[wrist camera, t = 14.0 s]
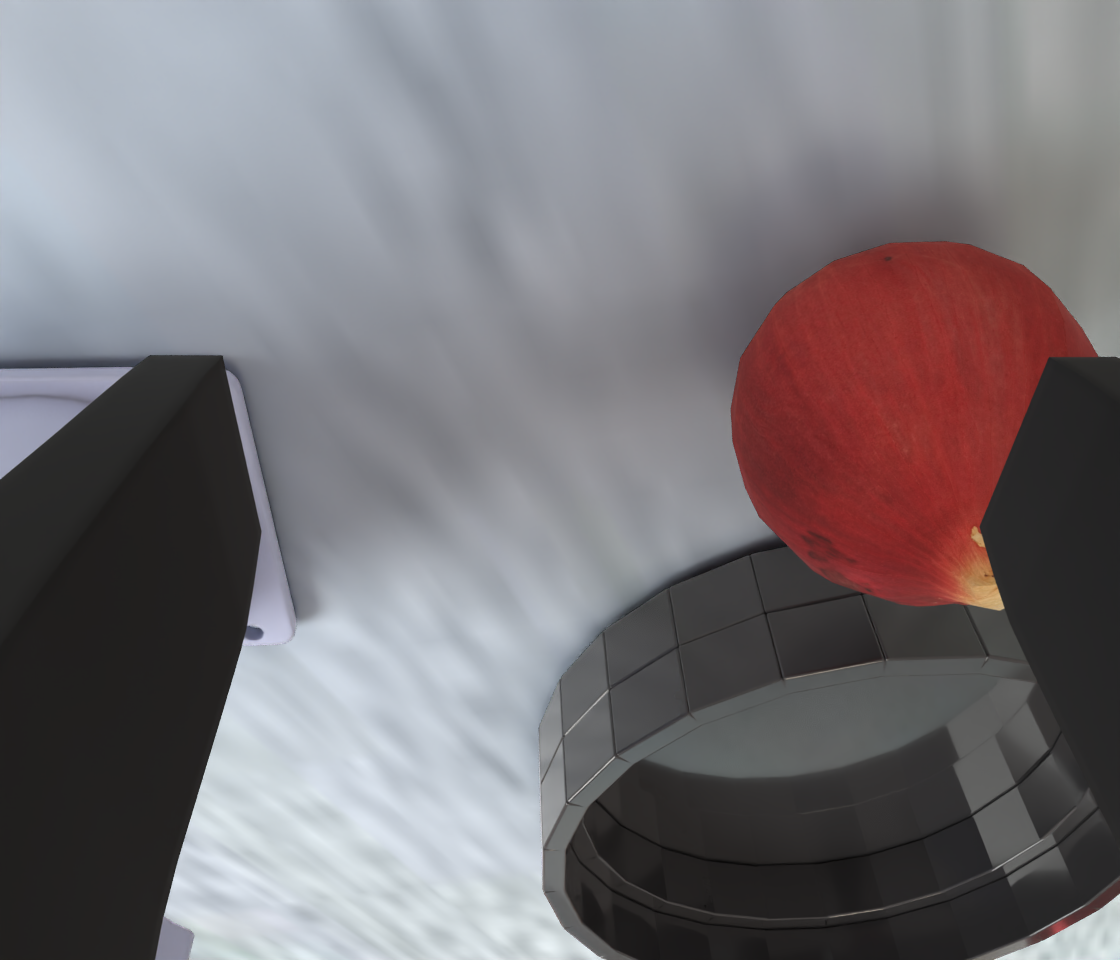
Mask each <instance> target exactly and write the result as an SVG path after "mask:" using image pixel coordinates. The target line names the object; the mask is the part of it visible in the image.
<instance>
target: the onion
mask: <svg viewBox="0 0 1120 960" xmlns="http://www.w3.org/2000/svg"><path fill="white" fill-rule="evenodd" d="M1049 357H1098V355H1097V353H1096V352H1095V350H1094V348H1093V346H1092V345H1091V343H1090V341H1089V339H1088V338H1087V336H1086V334H1085V333H1084V331H1083V329H1082V328H1081V326H1080V325H1079V324H1078V323H1077V321H1076V320H1075V319H1074V318H1073V316H1072V315H1071V314H1070V313H1069V311H1068V310H1067V309H1066V308H1065V306H1064V305H1063V304H1062V302H1061V301H1060V300H1059V299H1058V297H1057V296H1056V295H1055V294H1054V292H1053V291H1052V290H1051V289H1050V288H1049V287H1048V286H1047V285H1046V284H1045V283H1044V282H1042V281H1041V280H1040V279H1039V278H1038V277H1037V276H1035V275H1034V274H1033V273H1032V272H1031V271H1030V270H1028V269H1027V268H1026V267H1025V266H1024V265H1021V264H1019V263H1016V262H1014V261H1011V260H1008V259H1006V258H1003V257H1001V256H998V255H995V254H993V253H990V252H988V251H985V250H983V249H980V248H977V247H975V246H972V245H969V244H961V243H954V242H947V241H940V242H905V243H888V244H885V245H882V246H879V247H876V248H873V249H869V250H866V251H863V252H860V253H857V254H854V255H851V256H847V257H844V258H841V259H838V260H835V261H833V262H831V263H830V264H828V265H827V266H825V267H824V268H822V269H821V270H819V271H818V272H816V273H815V274H814V275H812V276H811V277H809V278H808V279H806V280H805V281H803V282H802V283H800V284H799V285H797V286H796V287H794V288H793V289H791V290H790V291H788V292H787V293H786V294H785V295H784V296H783V297H782V298H781V299H780V300H779V301H778V302H777V303H776V304H775V305H774V307H773V308H772V310H771V311H770V313H769V314H768V316H767V317H766V319H765V320H764V322H763V324H762V325H761V327H760V328H759V330H758V331H757V333H756V334H755V336H754V337H753V339H752V340H751V342H750V343H749V345H748V347H747V348H746V350H745V351H744V353H743V354H742V356H741V358H740V362H739V367H738V373H737V378H736V383H735V389H734V394H733V399H732V405H731V422H732V440H733V445H734V449H735V453H736V456H737V460H738V464H739V467H740V471H741V474H742V478H743V482H744V485H745V489H746V491H747V493H748V495H749V497H750V499H751V501H752V503H753V505H754V507H755V509H756V511H757V514H758V516H759V517H760V518H761V519H762V520H763V521H764V522H765V523H766V524H767V525H768V526H769V527H770V528H771V529H772V530H773V531H774V532H775V534H776V535H777V536H778V537H779V538H780V539H781V540H782V541H783V542H784V543H785V544H786V545H787V546H788V547H789V548H790V549H791V550H793V551H794V552H795V553H796V554H797V555H798V556H799V557H800V558H801V559H802V560H803V561H804V562H805V563H806V564H807V565H808V566H809V567H810V568H811V569H812V570H813V571H814V572H816V573H818V574H819V575H821V576H823V577H824V578H826V579H828V580H829V581H831V582H833V583H835V584H838V585H841V586H844V587H847V588H850V589H853V590H856V591H859V592H862V593H865V594H869V595H872V596H875V597H878V598H882V599H885V600H888V601H891V602H895V603H898V604H902V605H910V606H936V605H945V604H953V603H955V604H961V605H974V606H979V607H984V608H989V609H994V610H999V611H1000V610H1002V609H1004V605H1003V602H1002V599H1001V596H1000V593H999V590H998V587H997V585H996V582H995V579H994V575H993V572H992V568H991V565H990V561H989V558H988V555H987V551H986V548H985V544H984V541H983V537H982V534H981V531H980V527H979V526H980V524H981V521H982V519H983V517H984V514H985V512H986V509H987V507H988V504H989V502H990V499H991V497H992V495H993V492H994V490H995V487H996V485H997V482H998V480H999V478H1000V475H1001V473H1002V470H1003V468H1004V465H1005V463H1006V460H1007V458H1008V456H1009V453H1010V451H1011V448H1012V446H1013V443H1014V441H1015V438H1016V436H1017V434H1018V431H1019V429H1020V426H1021V424H1022V421H1023V419H1024V416H1025V414H1026V412H1027V409H1028V407H1029V404H1030V402H1031V399H1032V397H1033V394H1034V392H1035V390H1036V387H1037V385H1038V382H1039V380H1040V377H1041V375H1042V373H1043V370H1044V368H1045V365H1046V363H1047V360H1048V358H1049Z"/></svg>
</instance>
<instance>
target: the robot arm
mask: <svg viewBox="0 0 1120 960" xmlns="http://www.w3.org/2000/svg"><path fill="white" fill-rule="evenodd" d="M979 527H980V531H981V534H982V537H983V541H984V544H985V548H986V551H987V555H988V558H989V561H990V565H991V568H992V572H993V575H994V579H995V582H996V585H997V587H998V590H999V593H1000V596H1001V599H1002V602H1003V605H1004V608H1005V611H1006V614H1007V617H1008V620H1009V623H1010V625H1011V627H1012V629H1013V631H1014V634H1015V636H1016V638H1017V640H1018V642H1019V644H1020V647H1021V649H1022V651H1023V653H1024V655H1025V657H1026V659H1027V661H1028V663H1029V665H1030V667H1031V669H1032V672H1033V674H1034V676H1035V678H1036V680H1037V682H1038V684H1039V686H1040V688H1041V690H1042V692H1043V694H1044V697H1045V699H1046V701H1047V703H1048V705H1049V707H1050V709H1051V711H1052V713H1053V715H1054V717H1055V719H1056V721H1057V723H1058V725H1059V727H1060V729H1061V731H1062V733H1063V735H1064V737H1065V739H1066V741H1067V743H1068V745H1069V747H1070V749H1071V751H1072V753H1073V755H1074V757H1075V759H1076V761H1077V763H1078V765H1079V767H1080V769H1081V771H1082V774H1083V776H1084V778H1085V780H1086V782H1087V784H1088V786H1089V788H1090V790H1091V792H1092V794H1093V796H1094V798H1095V800H1096V802H1097V804H1098V806H1099V808H1100V810H1101V812H1102V814H1103V816H1104V818H1105V820H1106V822H1107V824H1108V826H1109V828H1110V830H1111V832H1112V834H1113V836H1114V838H1115V841H1116V843H1117V845H1118V847H1119V850H1120V359H1119V358H1117V357H1049V358H1048V360H1047V363H1046V365H1045V368H1044V370H1043V373H1042V375H1041V377H1040V380H1039V382H1038V385H1037V387H1036V390H1035V392H1034V394H1033V397H1032V399H1031V402H1030V404H1029V407H1028V409H1027V412H1026V414H1025V416H1024V419H1023V421H1022V424H1021V426H1020V429H1019V431H1018V434H1017V436H1016V438H1015V441H1014V443H1013V446H1012V448H1011V451H1010V453H1009V456H1008V458H1007V460H1006V463H1005V465H1004V468H1003V470H1002V473H1001V475H1000V478H999V480H998V482H997V485H996V487H995V490H994V492H993V495H992V497H991V499H990V502H989V504H988V507H987V509H986V512H985V514H984V517H983V519H982V521H981V524H980V526H979ZM251 626H256V627H258V628H255V627H251ZM296 626H297V620H296V616H295V611H294V607H293V603H292V599H291V595H290V590H289V586H288V582H287V578H286V574H285V569H284V565H283V561H282V557H281V552H280V548H279V544H278V540H277V536H276V531H275V527H274V523H273V519H272V514H271V510H270V506H269V502H268V498H267V493H266V489H265V485H264V481H263V476H262V472H261V468H260V464H259V460H258V455H257V451H256V447H255V443H254V438H253V434H252V430H251V426H250V422H249V417H248V413H247V409H246V405H245V401H244V396H243V392H242V388H241V385H240V383H239V381H238V379H237V378H236V377H235V376H234V375H233V374H232V373H231V372H230V371H227V370H226V369H225V365H224V360H223V356H202V355H150V356H148V357H147V358H146V359H144V360H143V361H142V362H140V363H139V364H138V365H136V366H135V367H95V368H26V369H0V960H189V956H190V952H191V948H192V944H193V939H194V933H193V932H192V931H191V930H189V929H187V928H185V927H182V926H180V925H178V924H176V923H174V922H172V921H170V920H169V919H167V918H166V917H164V913H165V909H166V905H167V901H168V897H169V893H170V889H171V885H172V881H173V877H174V873H175V869H176V866H177V862H178V858H179V855H180V852H181V848H182V845H183V842H184V838H185V835H186V832H187V828H188V825H189V822H190V819H191V815H192V812H193V809H194V805H195V802H196V799H197V795H198V792H199V789H200V785H201V782H202V779H203V775H204V772H205V769H206V765H207V762H208V759H209V756H210V752H211V749H212V746H213V742H214V739H215V736H216V732H217V729H218V726H219V722H220V719H221V716H222V712H223V709H224V706H225V702H226V699H227V695H228V692H229V689H230V685H231V682H232V678H233V675H234V672H235V668H236V665H237V661H238V658H239V655H240V651H241V648H242V646H249V645H279V644H285V643H287V642H289V641H291V640H292V638H293V637H294V636H295V631H296Z"/></svg>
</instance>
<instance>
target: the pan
mask: <svg viewBox="0 0 1120 960" xmlns="http://www.w3.org/2000/svg"><path fill="white" fill-rule="evenodd" d="M539 790H540V823H541V856H542V889H543V892H544V894H545V896H546V898H547V899H548V901H549V903H550V905H551V907H552V908H553V910H554V912H555V914H556V916H557V917H558V919H559V921H560V923H561V925H562V927H564V929H565V930H566V931H567V932H569V933H570V934H571V935H572V936H574V937H575V938H576V939H577V940H579V941H580V942H581V943H582V944H584V945H585V946H586V947H587V948H589V949H590V950H591V951H592V952H594V953H595V954H596V955H597V956H599V957H601V958H603V959H605V960H994V959H996V958H999V957H1002V956H1004V955H1007V954H1009V953H1012V952H1015V951H1017V950H1020V949H1022V948H1025V947H1028V946H1030V945H1033V944H1035V943H1038V942H1040V941H1043V940H1045V939H1047V938H1049V937H1050V936H1052V935H1054V934H1056V933H1058V932H1060V931H1061V930H1063V929H1065V928H1067V927H1069V926H1070V925H1072V924H1074V923H1076V922H1078V921H1080V920H1081V919H1083V918H1085V917H1087V916H1089V915H1091V914H1092V913H1094V912H1096V911H1098V910H1099V909H1101V908H1102V907H1104V906H1105V905H1106V904H1107V903H1109V902H1110V901H1111V900H1112V899H1114V898H1115V897H1116V896H1117V895H1119V894H1120V850H1119V847H1118V845H1117V843H1116V841H1115V838H1114V836H1113V834H1112V832H1111V830H1110V828H1109V826H1108V824H1107V822H1106V820H1105V818H1104V816H1103V814H1102V812H1101V810H1100V808H1099V806H1098V804H1097V802H1096V800H1095V798H1094V796H1093V794H1092V792H1091V790H1090V788H1089V786H1088V784H1087V782H1086V780H1085V778H1084V776H1083V774H1082V771H1081V769H1080V767H1079V765H1078V763H1077V761H1076V759H1075V757H1074V755H1073V753H1072V751H1071V749H1070V747H1069V745H1068V743H1067V741H1066V739H1065V737H1064V735H1063V733H1062V731H1061V729H1060V727H1059V725H1058V723H1057V721H1056V719H1055V717H1054V715H1053V713H1052V711H1051V709H1050V707H1049V705H1048V703H1047V701H1046V699H1045V697H1044V694H1043V692H1042V690H1041V688H1040V686H1039V684H1038V682H1037V680H1036V678H1035V676H1034V674H1033V672H1032V669H1031V667H1030V665H1029V663H1028V661H1027V659H1026V657H1025V655H1024V653H1023V651H1022V649H1021V647H1020V644H1019V642H1018V640H1017V638H1016V636H1015V634H1014V631H1013V629H1012V627H1011V625H1010V623H1009V620H1008V617H1007V614H1006V611H1005V608H1004V609H1002V610H1000V611H999V610H994V609H989V608H984V607H979V606H974V605H961V604H955V603H953V604H945V605H936V606H910V605H902V604H898V603H895V602H891V601H888V600H885V599H882V598H878V597H875V596H872V595H869V594H865V593H862V592H859V591H856V590H853V589H850V588H847V587H844V586H841V585H838V584H835V583H833V582H831V581H829V580H828V579H826V578H824V577H823V576H821V575H819V574H818V573H816V572H814V571H813V570H812V569H811V568H810V567H809V566H808V565H807V564H806V563H805V562H804V561H803V560H802V559H801V558H800V557H799V556H798V555H797V554H796V553H795V552H794V551H793V550H791V549H790V548H789V547H788V546H786V547H781V548H777V549H772V550H767V551H762V552H757V553H753V554H751V555H750V556H749V555H747V556H744V557H742V558H740V559H737V560H735V561H732V562H730V563H727V564H725V565H722V566H720V567H717V568H715V569H712V570H710V571H707V572H705V573H703V574H700V575H698V576H695V577H693V578H690V579H688V580H685V581H683V582H680V583H678V584H675V585H673V586H671V587H669V589H668V588H667V589H665V590H664V591H662V592H661V593H659V594H657V595H656V596H654V597H653V598H651V599H650V600H648V601H647V602H645V603H644V604H642V605H641V606H639V607H638V608H636V609H635V610H633V611H632V612H630V613H629V614H627V615H626V616H624V617H623V618H621V619H620V620H618V621H617V622H615V623H614V624H612V625H611V626H609V627H608V628H606V629H605V630H604V631H603V632H601V634H600V635H599V636H598V637H597V638H596V639H595V640H594V641H593V642H592V644H591V645H590V646H589V647H588V648H587V649H586V650H585V651H584V652H583V653H582V655H581V656H580V657H579V658H578V659H577V660H576V661H575V662H574V663H573V664H572V666H571V667H570V668H569V669H568V670H567V671H566V672H565V673H564V674H563V675H562V677H561V679H560V680H559V682H558V684H557V686H556V689H555V691H554V693H553V696H552V698H551V700H550V703H549V705H548V707H547V709H546V712H545V714H544V716H543V719H542V721H541V723H540V726H539Z"/></svg>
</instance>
